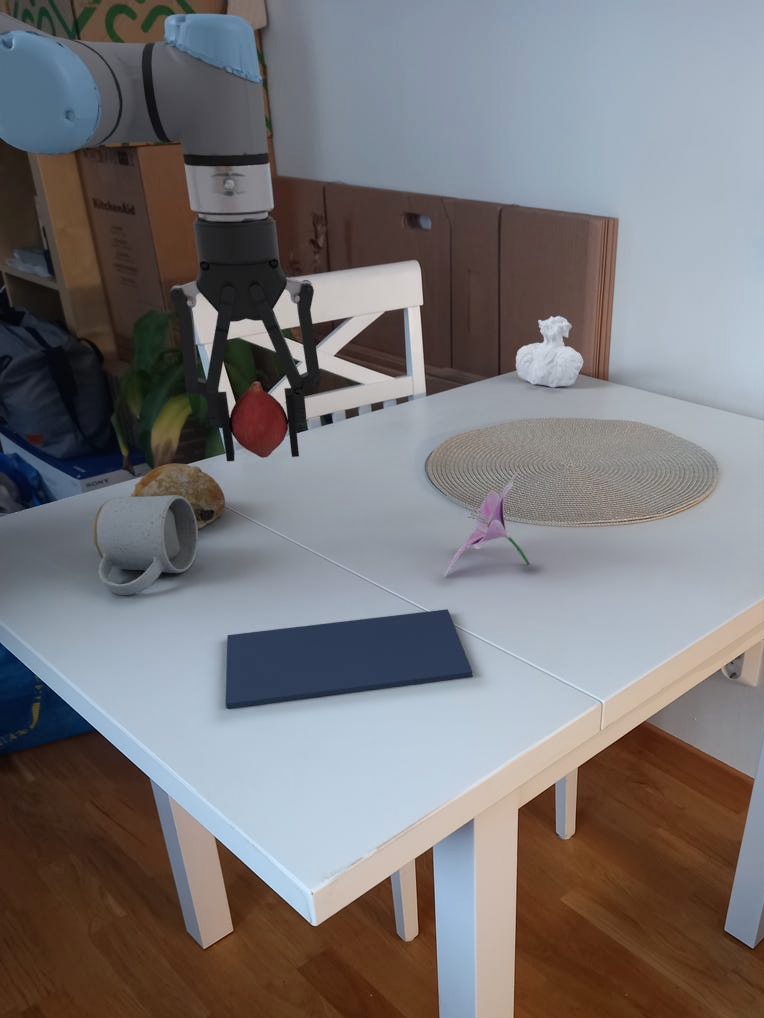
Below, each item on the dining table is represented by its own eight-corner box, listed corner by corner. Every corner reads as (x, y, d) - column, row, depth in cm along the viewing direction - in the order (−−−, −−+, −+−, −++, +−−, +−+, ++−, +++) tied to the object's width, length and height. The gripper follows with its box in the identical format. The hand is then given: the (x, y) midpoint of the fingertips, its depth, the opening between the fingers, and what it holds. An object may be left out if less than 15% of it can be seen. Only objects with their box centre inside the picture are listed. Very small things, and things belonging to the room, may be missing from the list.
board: (226, 709, 73) (225, 703, 73) (228, 639, 82) (227, 634, 82) (472, 676, 77) (472, 671, 77) (448, 613, 86) (447, 608, 86)
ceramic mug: (131, 548, 99) (115, 481, 95) (204, 552, 98) (191, 484, 94) (82, 596, 90) (62, 525, 86) (161, 601, 89) (145, 528, 85)
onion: (230, 467, 95) (219, 389, 91) (240, 448, 100) (230, 374, 96) (287, 466, 95) (278, 389, 91) (294, 447, 100) (287, 373, 96)
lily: (502, 537, 103) (457, 468, 98) (586, 523, 94) (542, 446, 90) (448, 610, 96) (398, 539, 92) (534, 602, 88) (483, 523, 83)
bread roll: (170, 568, 103) (180, 514, 98) (106, 515, 105) (112, 459, 100) (234, 535, 110) (247, 484, 105) (173, 486, 112) (182, 433, 107)
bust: (582, 400, 151) (603, 335, 151) (567, 380, 144) (589, 313, 144) (518, 390, 156) (539, 327, 157) (501, 370, 149) (522, 305, 150)
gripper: (122, 222, 81) (167, 473, 93) (339, 217, 84) (356, 460, 96) (131, 212, 87) (172, 449, 99) (333, 208, 91) (349, 437, 102)
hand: (262, 454), depth 98 cm, fingers closed on onion, 6 cm apart
